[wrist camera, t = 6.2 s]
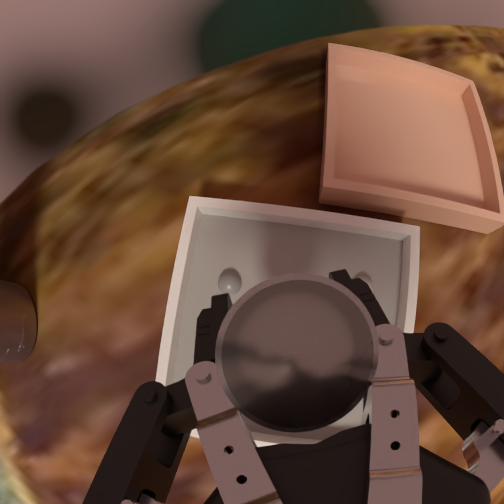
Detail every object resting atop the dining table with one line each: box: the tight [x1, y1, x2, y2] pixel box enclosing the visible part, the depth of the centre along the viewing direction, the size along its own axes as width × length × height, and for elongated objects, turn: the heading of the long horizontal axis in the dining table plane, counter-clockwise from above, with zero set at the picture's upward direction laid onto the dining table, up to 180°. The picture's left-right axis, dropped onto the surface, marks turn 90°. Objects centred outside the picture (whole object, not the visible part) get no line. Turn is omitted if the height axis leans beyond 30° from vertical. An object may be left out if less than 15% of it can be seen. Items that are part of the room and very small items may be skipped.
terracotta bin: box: [318, 43, 504, 234], centre depth 25 cm, size 18×18×4 cm
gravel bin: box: [156, 196, 420, 447], centre depth 22 cm, size 18×18×4 cm
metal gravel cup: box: [215, 273, 379, 433], centre depth 12 cm, size 4×4×9 cm
